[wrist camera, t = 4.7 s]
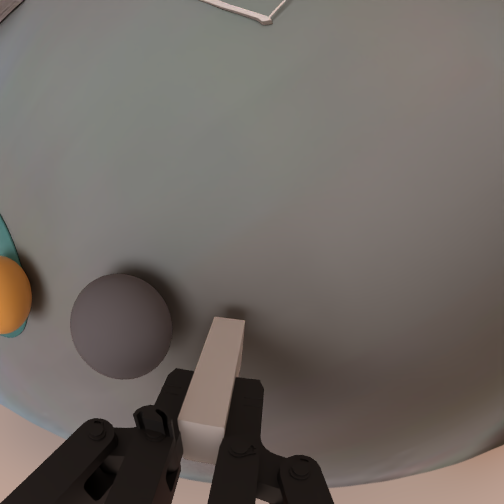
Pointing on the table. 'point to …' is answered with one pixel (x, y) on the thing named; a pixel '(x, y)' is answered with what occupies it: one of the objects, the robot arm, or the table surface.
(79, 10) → the table surface
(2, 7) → the ink cartridge box
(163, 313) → the dark grey ball
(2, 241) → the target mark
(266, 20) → the crossbow
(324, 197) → the table surface
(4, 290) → the object ball
